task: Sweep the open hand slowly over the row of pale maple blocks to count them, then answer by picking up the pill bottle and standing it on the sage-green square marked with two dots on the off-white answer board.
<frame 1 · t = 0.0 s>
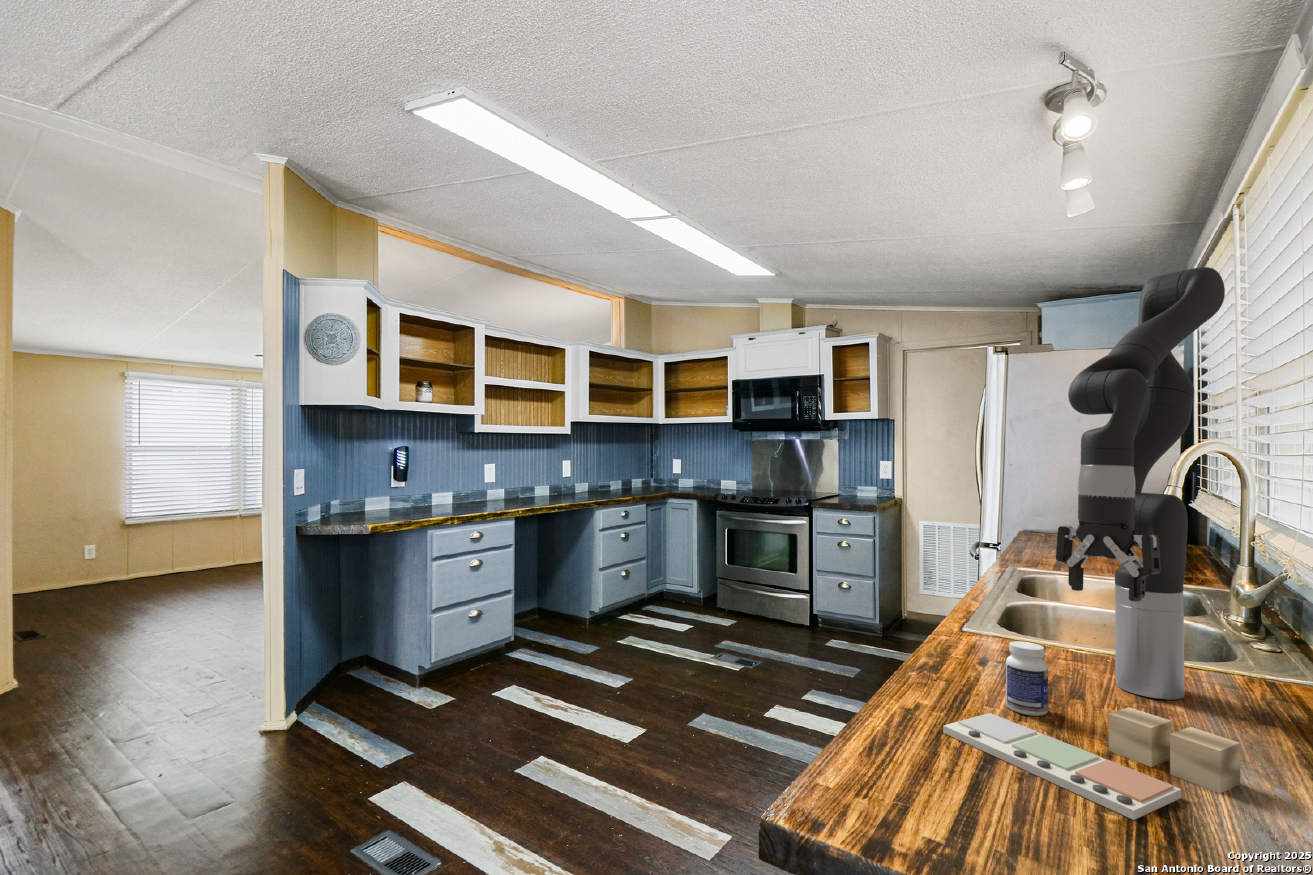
hand: (1104, 595, 102), 17 cm above the countertop, tool pointing down, fingers open, 8 cm apart
maple block B: (1204, 779, 78), on the countertop
pill bottle: (1026, 710, 99), on the countertop
answer board: (1049, 761, 82), on the countertop
maple block A: (1140, 755, 84), on the countertop
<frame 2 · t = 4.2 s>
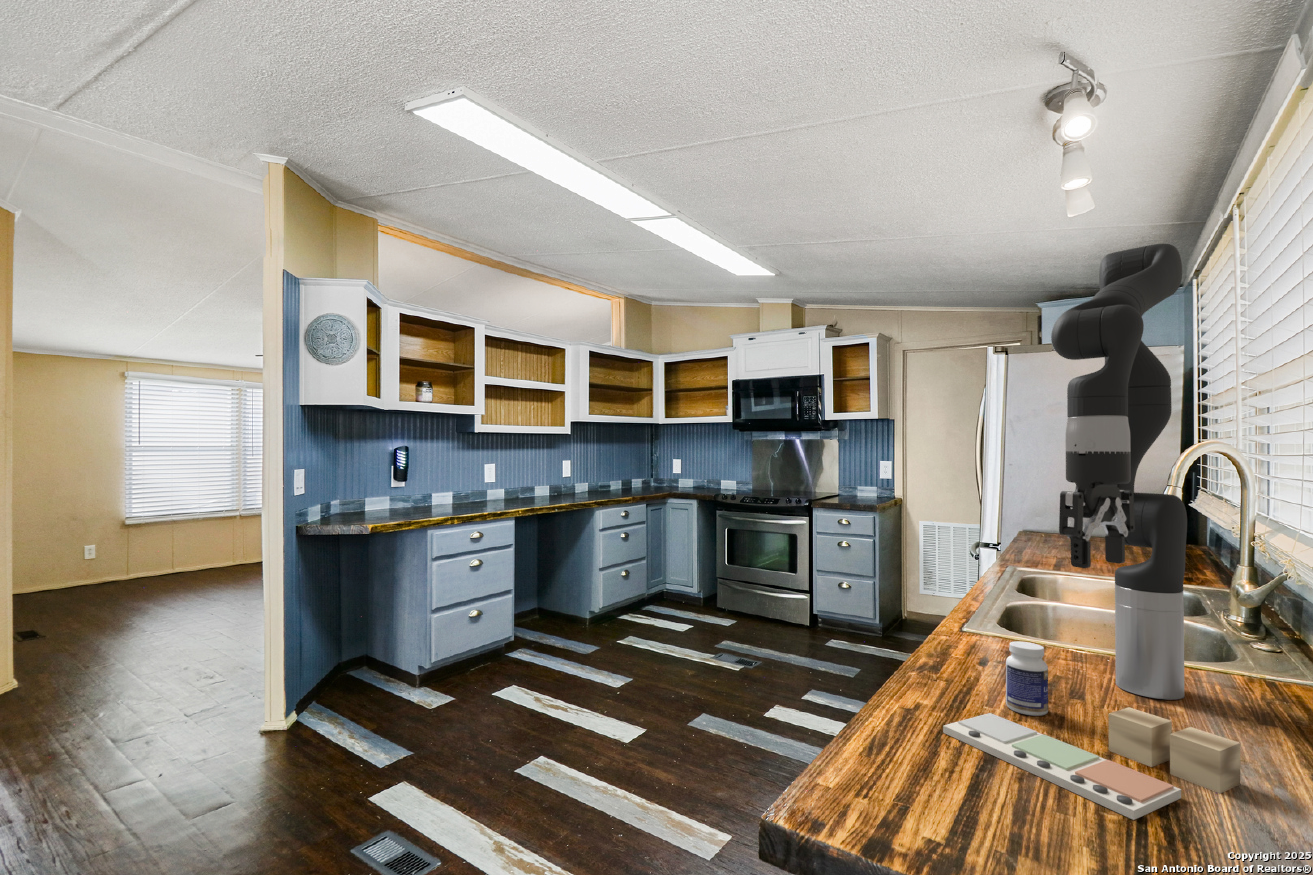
hand: (1098, 565, 89), 24 cm above the countertop, tool pointing down, fingers open, 8 cm apart
nothing on the countertop moved.
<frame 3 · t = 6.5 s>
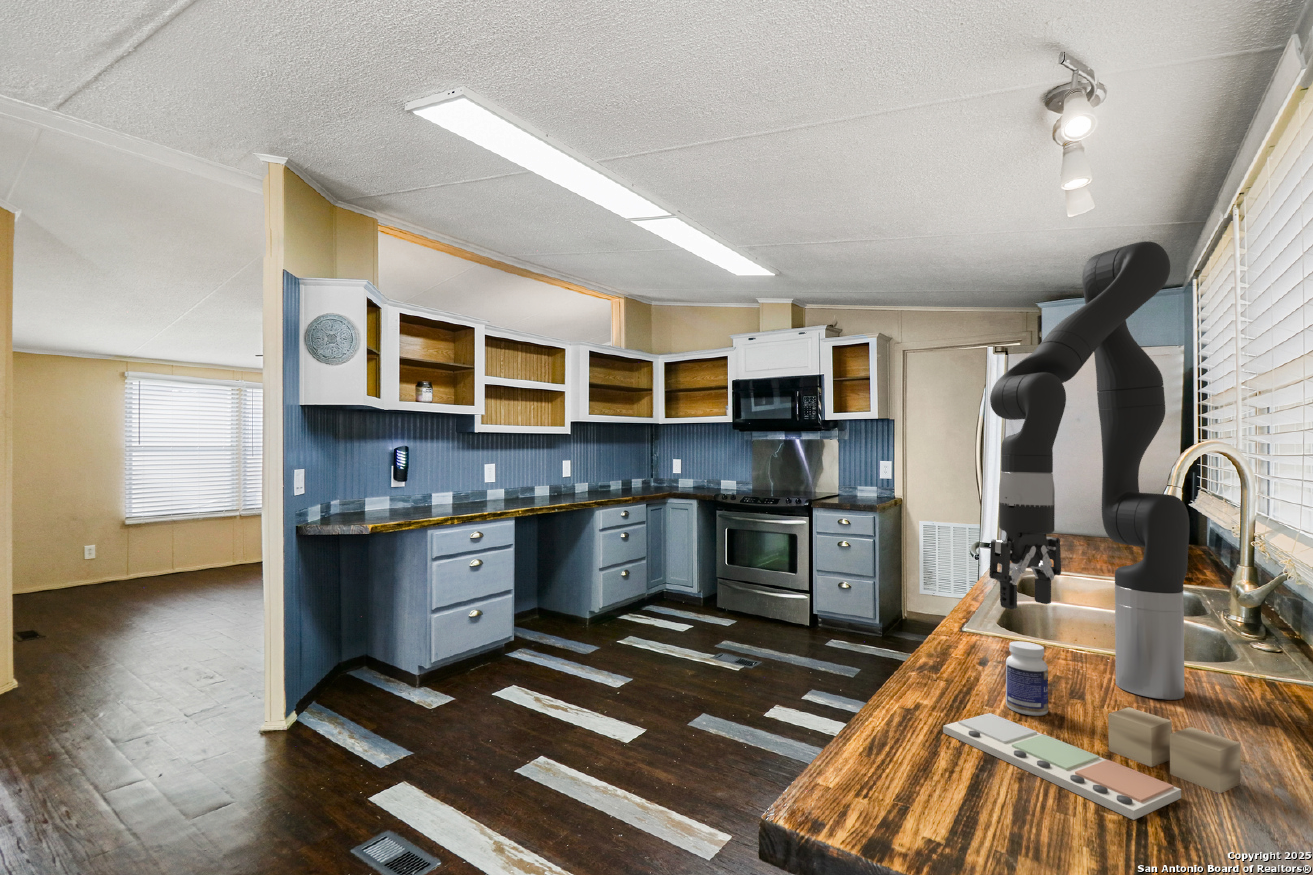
hand: (1025, 605, 99), 16 cm above the countertop, tool pointing down, fingers open, 8 cm apart
nothing on the countertop moved.
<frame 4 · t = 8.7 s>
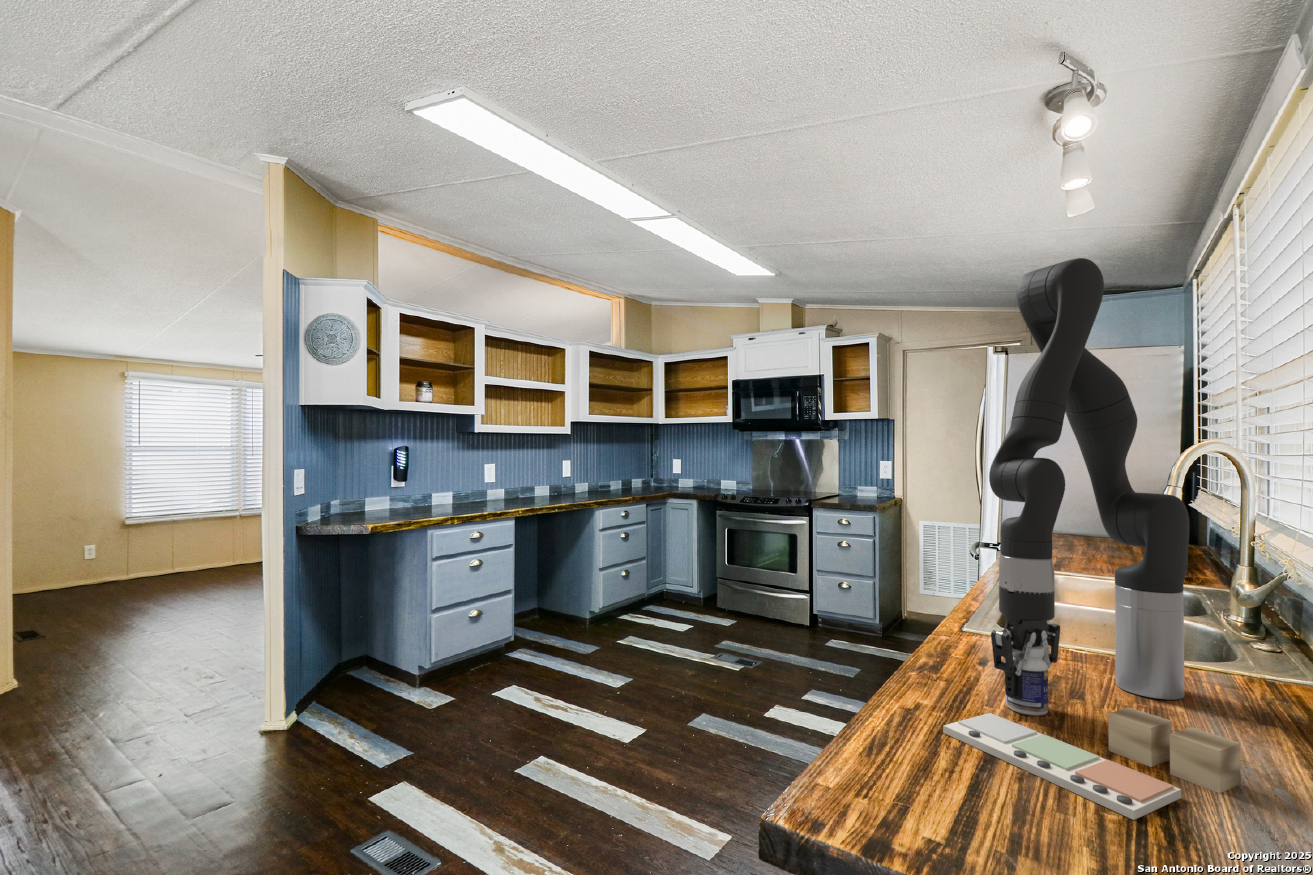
hand: (1026, 693, 99), 2 cm above the countertop, tool pointing down, fingers closed on pill bottle, 5 cm apart
pill bottle: (1026, 710, 99), on the countertop, touching gripper
everything else where it was.
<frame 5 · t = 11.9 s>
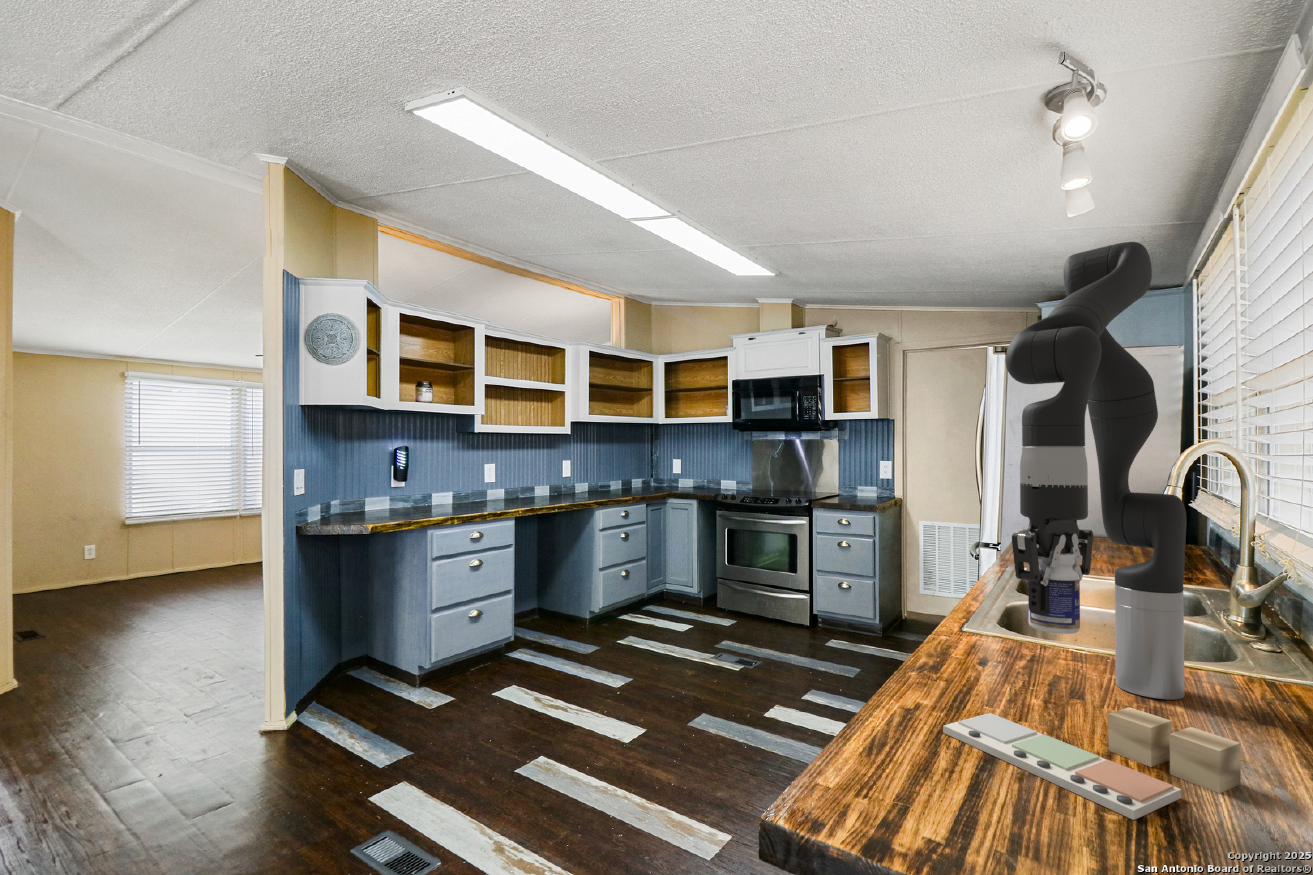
hand: (1053, 610, 83), 19 cm above the countertop, tool pointing down, fingers closed on pill bottle, 5 cm apart
pill bottle: (1053, 630, 83), point 17 cm above the countertop, touching gripper
everything else where it was.
when the fingers open (5 cm above the countertop, at t = 15.4 s): pill bottle drops 1 cm, resting on answer board.
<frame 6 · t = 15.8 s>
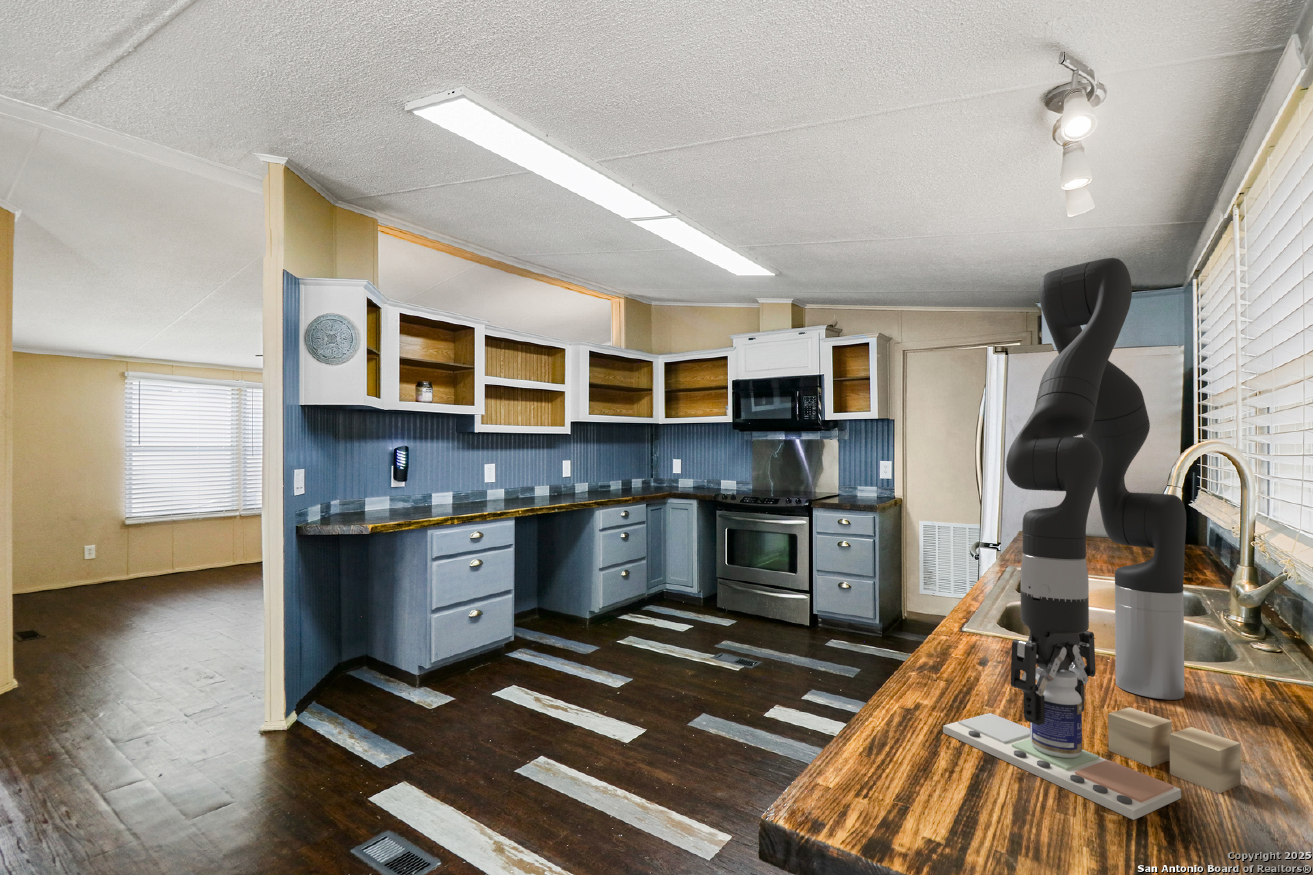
hand: (1054, 716, 82), 6 cm above the countertop, tool pointing down, fingers open, 8 cm apart
pill bottle: (1055, 750, 82), point 1 cm above the countertop, touching answer board
everything else where it was.
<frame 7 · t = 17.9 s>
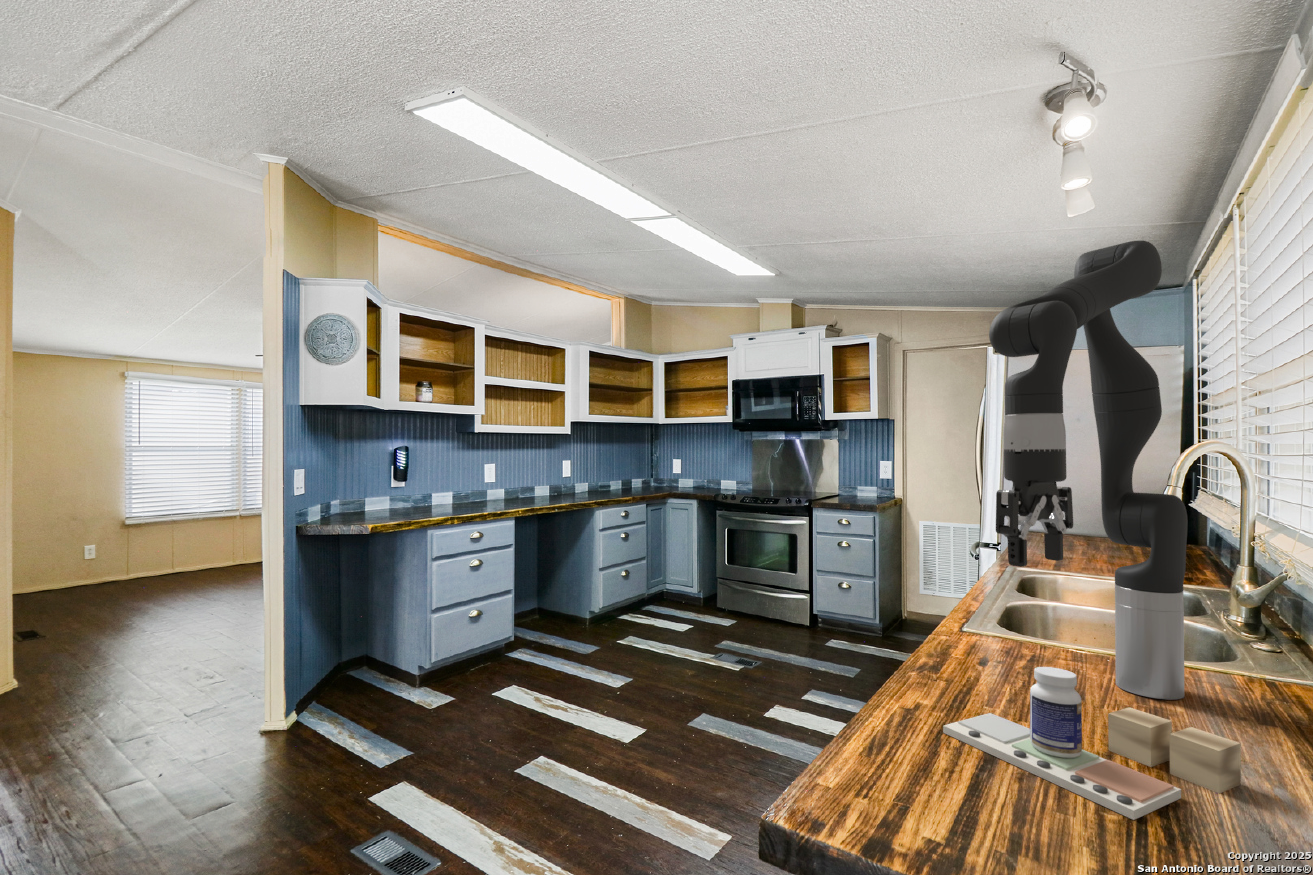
hand: (1036, 562, 89), 24 cm above the countertop, tool pointing down, fingers open, 8 cm apart
nothing on the countertop moved.
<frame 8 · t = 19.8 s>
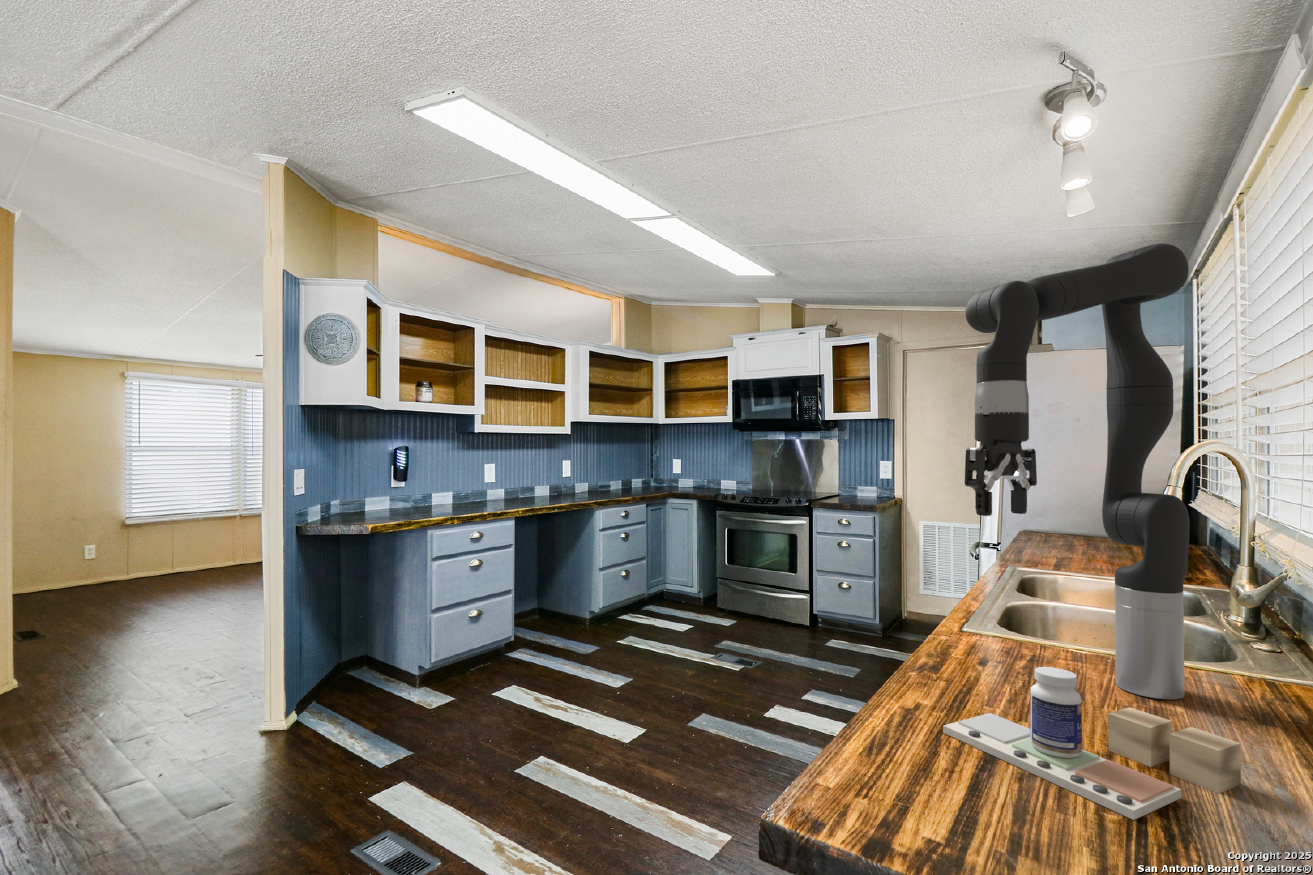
hand: (1001, 514, 100), 30 cm above the countertop, tool pointing down, fingers open, 8 cm apart
nothing on the countertop moved.
at the end: pill bottle 0.3 cm from the target spot, point 1.1 cm above the countertop; pill bottle tilted 0°; the gripper is holding nothing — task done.
